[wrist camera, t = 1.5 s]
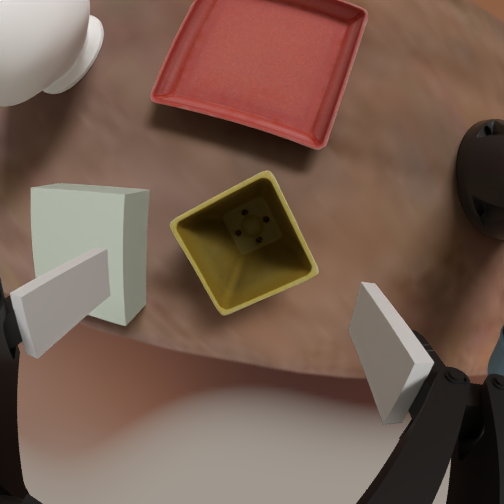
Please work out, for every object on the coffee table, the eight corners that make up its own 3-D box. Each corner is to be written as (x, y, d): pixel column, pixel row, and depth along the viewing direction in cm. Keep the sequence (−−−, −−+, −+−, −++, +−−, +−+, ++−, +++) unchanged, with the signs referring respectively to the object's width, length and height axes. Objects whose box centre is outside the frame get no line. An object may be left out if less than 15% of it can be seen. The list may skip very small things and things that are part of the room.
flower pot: (309, 245, 30) (321, 275, 21) (236, 279, 32) (221, 318, 23) (272, 169, 28) (269, 167, 20) (197, 208, 30) (166, 222, 21)
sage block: (151, 189, 30) (124, 194, 24) (147, 303, 34) (125, 326, 28) (61, 183, 31) (31, 187, 25) (64, 281, 35) (38, 297, 29)
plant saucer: (216, -16, 22) (210, -30, 19) (363, 22, 23) (370, 9, 19) (159, 107, 28) (146, 101, 24) (318, 155, 28) (323, 153, 25)
